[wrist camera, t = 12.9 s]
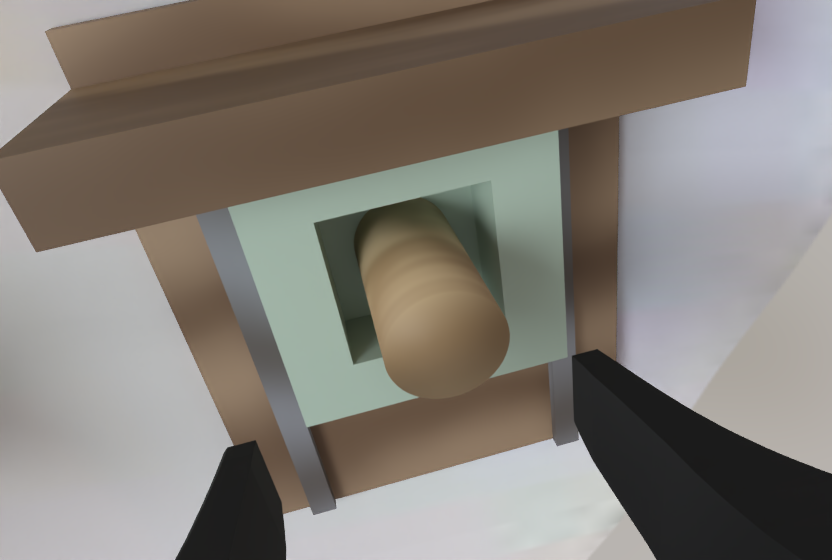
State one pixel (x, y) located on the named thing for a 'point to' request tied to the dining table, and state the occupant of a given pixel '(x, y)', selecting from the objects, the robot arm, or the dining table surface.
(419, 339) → the oak dowel
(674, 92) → the walnut board
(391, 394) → the sage socket block
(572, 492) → the dining table surface
